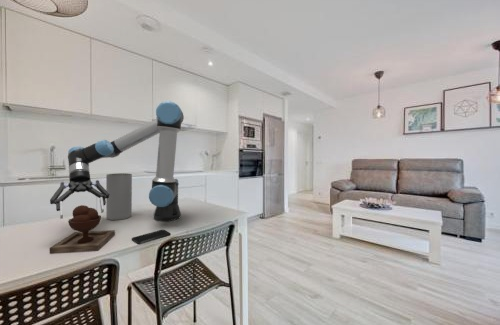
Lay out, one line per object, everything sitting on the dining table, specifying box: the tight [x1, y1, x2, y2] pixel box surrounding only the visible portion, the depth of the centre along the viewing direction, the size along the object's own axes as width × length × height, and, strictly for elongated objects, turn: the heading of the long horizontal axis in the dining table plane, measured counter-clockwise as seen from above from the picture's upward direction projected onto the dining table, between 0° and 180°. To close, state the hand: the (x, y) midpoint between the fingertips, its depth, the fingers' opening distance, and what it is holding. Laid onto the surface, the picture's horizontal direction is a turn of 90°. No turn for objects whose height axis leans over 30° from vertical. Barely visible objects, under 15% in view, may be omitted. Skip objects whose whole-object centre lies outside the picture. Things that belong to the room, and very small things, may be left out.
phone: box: [131, 229, 171, 245], centre depth 97 cm, size 8×1×15 cm
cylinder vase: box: [105, 172, 133, 221], centre depth 123 cm, size 12×12×25 cm
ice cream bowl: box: [67, 204, 102, 244], centre depth 88 cm, size 11×11×15 cm
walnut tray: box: [49, 229, 116, 255], centre depth 89 cm, size 16×16×2 cm
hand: (83, 213), depth 89 cm, fingers open, 13 cm apart
